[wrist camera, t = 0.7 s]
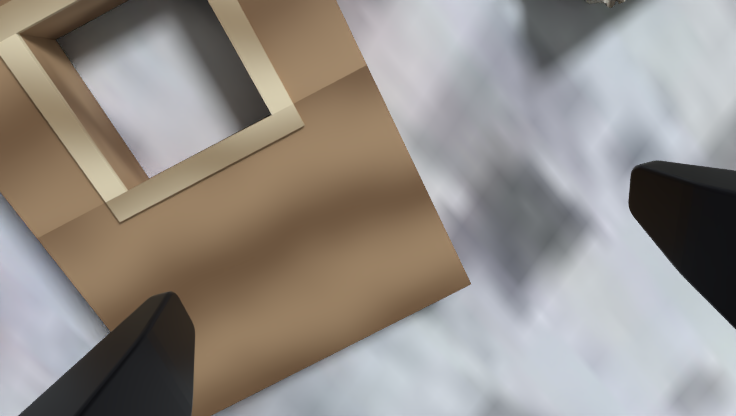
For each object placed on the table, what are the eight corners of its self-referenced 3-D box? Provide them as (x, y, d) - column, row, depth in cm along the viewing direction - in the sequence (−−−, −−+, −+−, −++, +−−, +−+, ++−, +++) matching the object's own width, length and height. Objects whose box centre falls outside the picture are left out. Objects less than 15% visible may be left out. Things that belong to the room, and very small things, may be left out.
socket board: (456, 264, 25) (472, 285, 22) (199, 395, 25) (185, 431, 23) (245, -175, 18) (233, -217, 16) (-92, 10, 19) (-157, -1, 16)
